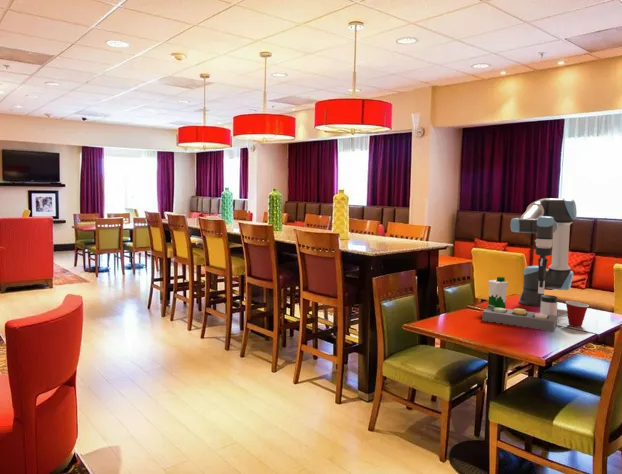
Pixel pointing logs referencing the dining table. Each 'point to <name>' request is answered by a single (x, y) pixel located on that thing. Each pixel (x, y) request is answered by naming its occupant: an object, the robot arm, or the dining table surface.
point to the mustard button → (520, 311)
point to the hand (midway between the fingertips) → (541, 293)
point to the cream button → (540, 315)
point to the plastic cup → (576, 313)
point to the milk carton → (497, 293)
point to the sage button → (500, 310)
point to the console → (520, 319)
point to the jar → (548, 305)
